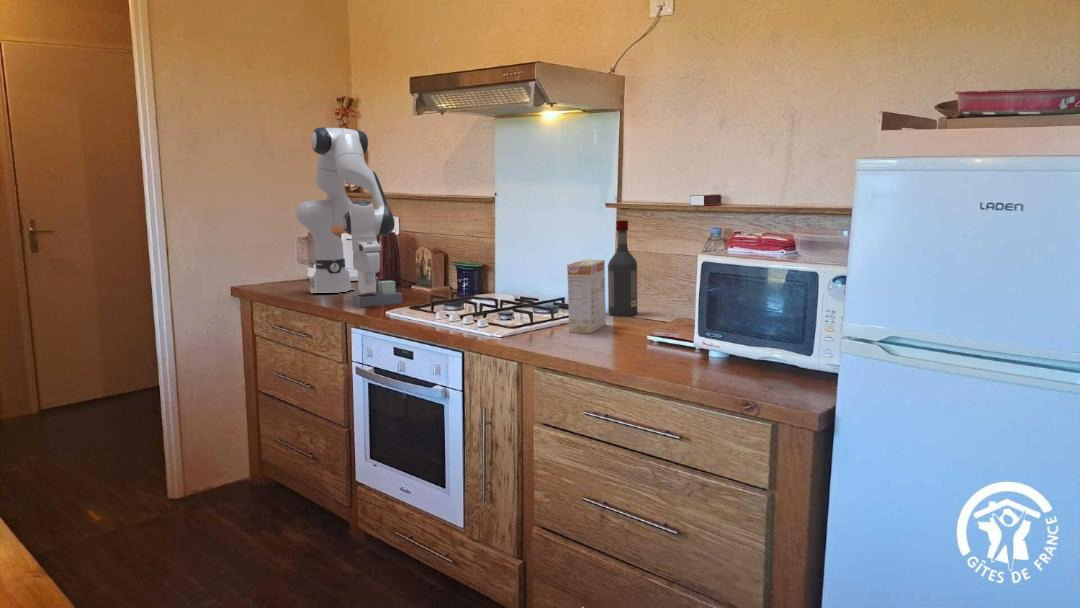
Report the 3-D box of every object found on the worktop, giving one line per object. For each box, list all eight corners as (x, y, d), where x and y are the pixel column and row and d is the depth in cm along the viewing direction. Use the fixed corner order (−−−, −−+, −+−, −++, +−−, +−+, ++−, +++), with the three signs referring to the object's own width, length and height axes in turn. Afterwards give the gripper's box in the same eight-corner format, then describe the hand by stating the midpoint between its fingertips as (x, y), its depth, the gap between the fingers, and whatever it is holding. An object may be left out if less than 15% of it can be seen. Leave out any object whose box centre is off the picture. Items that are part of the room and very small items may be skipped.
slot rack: (353, 306, 278) (352, 295, 278) (394, 301, 286) (394, 291, 286) (360, 308, 271) (359, 297, 270) (402, 304, 279) (402, 293, 278)
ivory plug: (358, 292, 277) (357, 270, 276) (372, 290, 279) (370, 269, 278) (363, 293, 273) (361, 271, 271) (376, 292, 275) (375, 270, 274)
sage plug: (378, 302, 281) (377, 281, 280) (391, 301, 284) (390, 280, 283) (383, 304, 277) (382, 282, 276) (396, 303, 280) (395, 281, 278)
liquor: (608, 316, 240) (607, 221, 236) (609, 311, 249) (608, 220, 245) (637, 316, 239) (636, 220, 235) (637, 311, 248) (636, 219, 244)
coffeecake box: (584, 323, 227) (582, 259, 225) (606, 324, 225) (605, 259, 222) (567, 332, 214) (566, 264, 211) (591, 333, 211) (590, 264, 208)
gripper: (347, 245, 281) (350, 282, 283) (364, 247, 263) (367, 286, 265) (364, 244, 284) (366, 280, 286) (382, 246, 267) (384, 285, 269)
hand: (367, 283), depth 276 cm, fingers closed on ivory plug, 5 cm apart
